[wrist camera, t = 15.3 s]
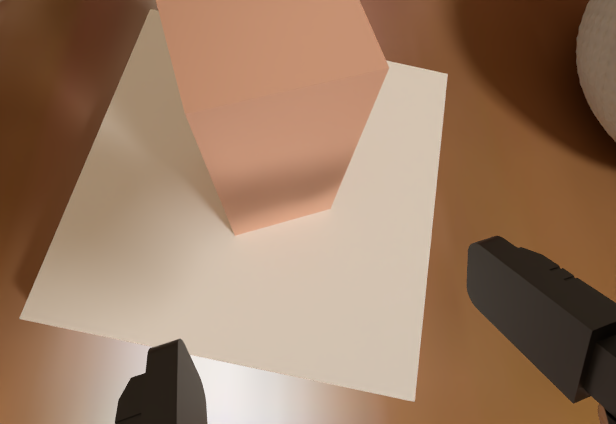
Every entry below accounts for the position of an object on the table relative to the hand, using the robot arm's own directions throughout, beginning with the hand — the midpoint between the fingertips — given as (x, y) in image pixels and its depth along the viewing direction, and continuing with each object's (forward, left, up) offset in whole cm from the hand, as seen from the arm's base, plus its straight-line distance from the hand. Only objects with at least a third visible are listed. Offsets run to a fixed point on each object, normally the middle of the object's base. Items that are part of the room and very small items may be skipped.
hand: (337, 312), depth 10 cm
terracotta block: (-7, -4, -8) cm, 11 cm away
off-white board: (-7, -4, -10) cm, 13 cm away
